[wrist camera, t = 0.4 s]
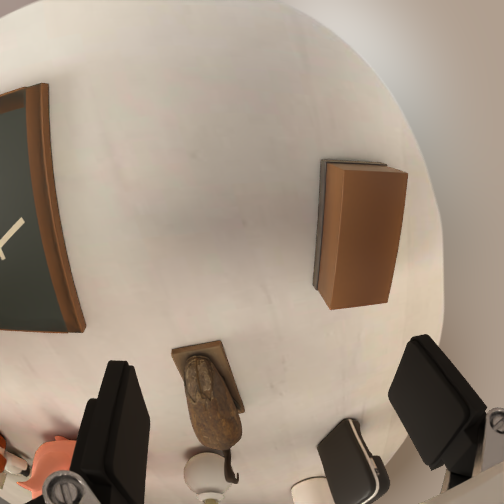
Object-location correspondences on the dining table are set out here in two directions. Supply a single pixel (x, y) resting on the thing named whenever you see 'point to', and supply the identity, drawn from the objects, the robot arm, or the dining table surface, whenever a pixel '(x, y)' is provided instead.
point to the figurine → (211, 398)
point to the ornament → (207, 477)
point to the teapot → (49, 463)
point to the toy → (12, 462)
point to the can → (312, 492)
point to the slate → (32, 223)
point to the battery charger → (352, 466)
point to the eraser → (358, 231)
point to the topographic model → (2, 479)
